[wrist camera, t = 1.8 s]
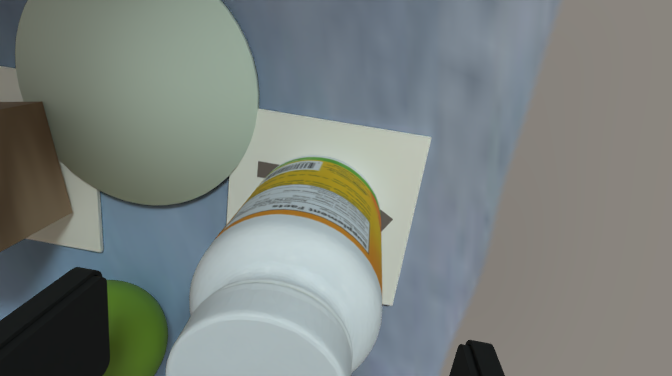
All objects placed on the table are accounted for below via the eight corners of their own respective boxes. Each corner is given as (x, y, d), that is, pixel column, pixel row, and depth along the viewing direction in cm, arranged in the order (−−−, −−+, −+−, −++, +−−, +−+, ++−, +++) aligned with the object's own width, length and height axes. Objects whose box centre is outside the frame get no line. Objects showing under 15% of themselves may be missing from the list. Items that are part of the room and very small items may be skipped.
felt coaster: (8, -68, 15) (-2, -71, 15) (270, -29, 15) (267, -30, 15) (37, 181, 19) (30, 184, 19) (250, 219, 18) (247, 223, 18)
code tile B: (-90, 50, 17) (-95, 51, 17) (93, 81, 17) (89, 81, 17) (-55, 221, 20) (-59, 223, 20) (103, 250, 20) (100, 252, 20)
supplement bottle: (339, 287, 19) (302, 516, 10) (236, 228, 18) (98, 413, 9) (406, 195, 17) (437, 373, 8) (294, 127, 17) (192, 234, 8)
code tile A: (235, 104, 17) (233, 105, 17) (430, 137, 16) (431, 138, 16) (225, 272, 20) (223, 275, 19) (392, 303, 19) (392, 305, 19)
